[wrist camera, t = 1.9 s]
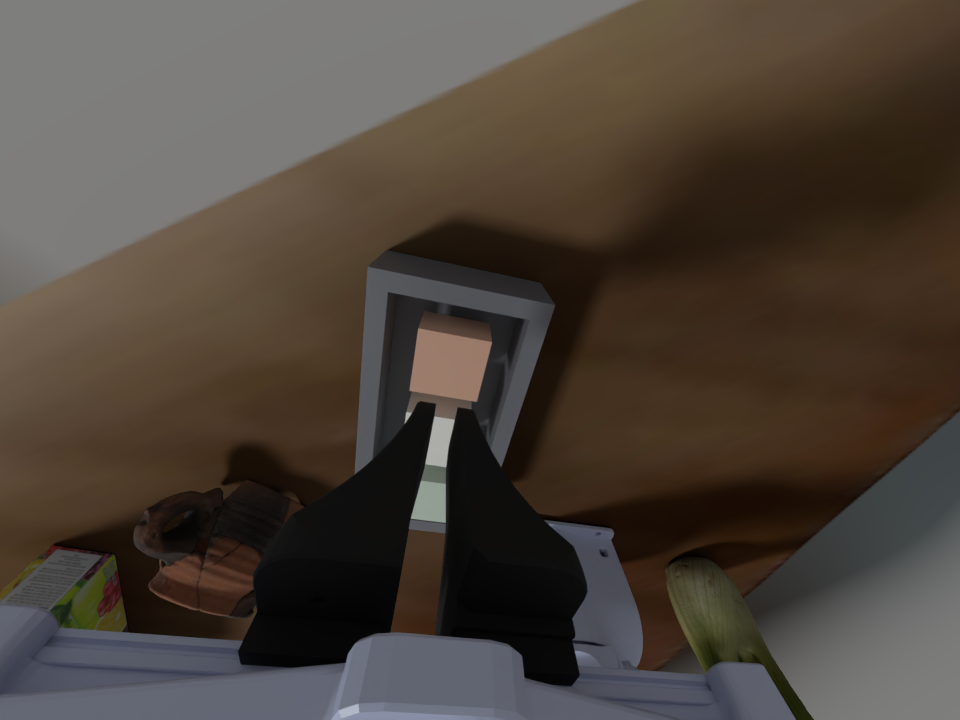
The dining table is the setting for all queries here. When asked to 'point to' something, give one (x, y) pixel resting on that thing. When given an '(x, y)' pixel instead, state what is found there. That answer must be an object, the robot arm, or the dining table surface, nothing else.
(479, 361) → the key
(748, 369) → the dining table surface
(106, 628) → the snack box
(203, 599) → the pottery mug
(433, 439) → the key mid
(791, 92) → the dining table surface
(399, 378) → the grey rectangular tray
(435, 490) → the key
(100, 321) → the dining table surface
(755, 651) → the fennel bulb
